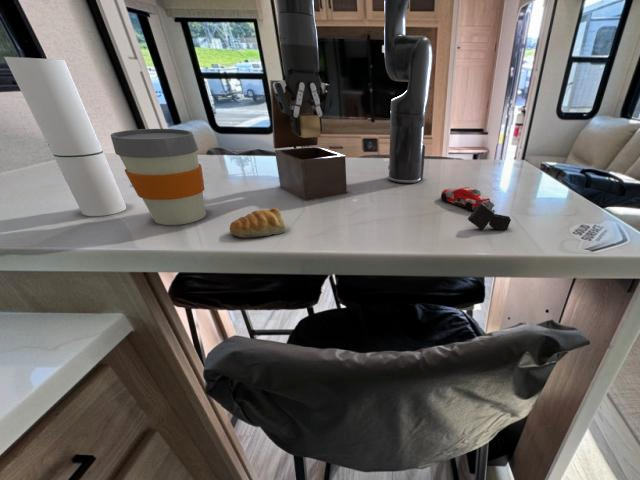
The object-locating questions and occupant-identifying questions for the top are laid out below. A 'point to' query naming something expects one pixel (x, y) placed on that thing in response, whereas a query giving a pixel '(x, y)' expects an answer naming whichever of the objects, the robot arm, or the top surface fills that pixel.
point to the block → (309, 125)
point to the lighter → (488, 217)
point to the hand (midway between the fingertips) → (307, 134)
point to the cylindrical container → (68, 133)
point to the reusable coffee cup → (164, 172)
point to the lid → (288, 124)
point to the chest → (311, 172)
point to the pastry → (259, 224)
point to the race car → (465, 197)
